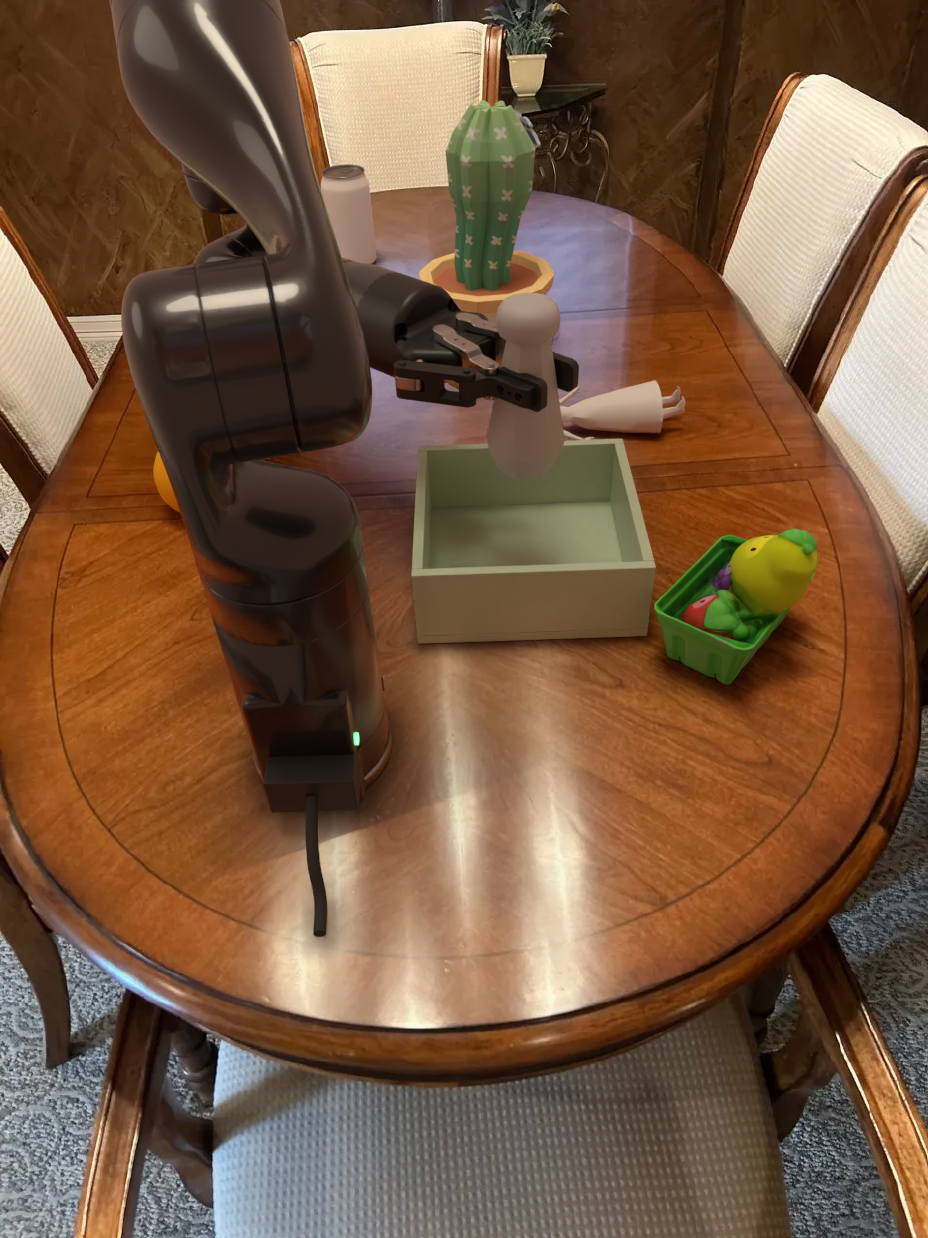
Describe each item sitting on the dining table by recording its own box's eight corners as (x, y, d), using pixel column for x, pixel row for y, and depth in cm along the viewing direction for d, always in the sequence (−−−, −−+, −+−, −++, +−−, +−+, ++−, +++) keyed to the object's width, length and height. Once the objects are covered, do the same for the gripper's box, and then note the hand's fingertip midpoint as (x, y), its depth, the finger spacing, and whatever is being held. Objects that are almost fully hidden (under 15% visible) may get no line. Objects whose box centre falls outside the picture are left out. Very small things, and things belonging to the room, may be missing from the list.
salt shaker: (525, 496, 67) (528, 327, 58) (471, 466, 70) (466, 301, 61) (578, 464, 70) (589, 299, 61) (524, 436, 73) (527, 275, 64)
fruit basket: (715, 580, 75) (738, 462, 67) (819, 625, 70) (857, 504, 63) (642, 659, 68) (658, 538, 61) (752, 713, 64) (784, 590, 56)
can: (323, 269, 127) (310, 176, 119) (341, 251, 131) (330, 161, 123) (366, 272, 125) (356, 179, 117) (383, 255, 130) (374, 164, 122)
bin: (647, 636, 70) (656, 567, 65) (417, 643, 70) (411, 575, 66) (616, 503, 83) (622, 438, 78) (423, 510, 83) (418, 445, 79)
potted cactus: (575, 353, 105) (587, 111, 88) (450, 381, 101) (437, 134, 84) (519, 303, 116) (521, 79, 99) (404, 326, 112) (385, 97, 95)
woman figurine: (697, 411, 85) (506, 433, 86) (694, 452, 88) (509, 473, 89) (671, 354, 94) (497, 375, 95) (669, 393, 97) (500, 413, 98)
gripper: (311, 304, 66) (495, 376, 57) (442, 245, 73) (622, 300, 65) (325, 398, 71) (495, 477, 62) (446, 334, 78) (614, 396, 70)
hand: (559, 386), depth 63 cm, fingers closed on salt shaker, 3 cm apart
